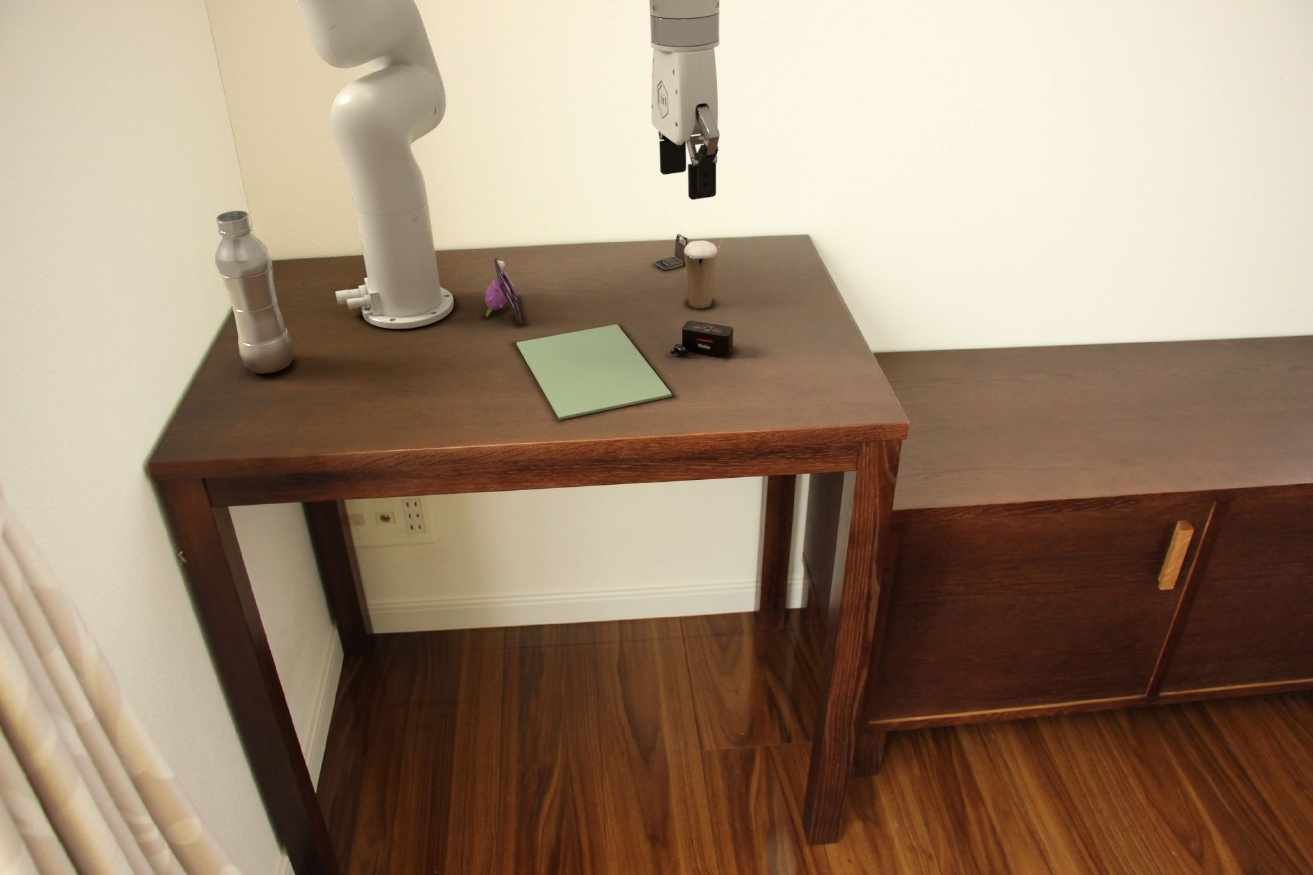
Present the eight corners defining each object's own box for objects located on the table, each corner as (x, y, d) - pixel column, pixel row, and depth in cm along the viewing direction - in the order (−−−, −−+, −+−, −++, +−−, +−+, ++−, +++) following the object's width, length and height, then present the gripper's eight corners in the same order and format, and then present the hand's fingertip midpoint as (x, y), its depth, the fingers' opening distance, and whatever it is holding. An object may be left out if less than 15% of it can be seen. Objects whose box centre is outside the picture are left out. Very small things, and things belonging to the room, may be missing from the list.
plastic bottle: (248, 384, 122) (206, 230, 111) (240, 361, 127) (199, 212, 116) (302, 372, 124) (266, 220, 113) (292, 350, 129) (256, 202, 118)
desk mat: (559, 420, 114) (559, 417, 114) (516, 344, 130) (516, 342, 130) (671, 396, 118) (671, 393, 118) (617, 326, 134) (617, 323, 134)
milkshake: (719, 312, 137) (720, 244, 132) (681, 309, 138) (681, 242, 133) (723, 298, 141) (725, 232, 135) (686, 295, 142) (687, 229, 136)
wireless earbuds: (681, 341, 130) (681, 318, 128) (733, 349, 128) (734, 327, 126) (669, 357, 126) (669, 334, 125) (722, 366, 124) (723, 343, 123)
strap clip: (699, 252, 155) (699, 226, 153) (710, 258, 153) (710, 232, 151) (653, 264, 151) (653, 238, 149) (664, 271, 149) (664, 244, 147)
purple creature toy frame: (506, 281, 130) (501, 255, 138) (470, 296, 131) (467, 270, 138) (527, 322, 134) (521, 295, 142) (492, 337, 134) (488, 309, 142)
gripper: (628, 21, 113) (634, 168, 123) (679, 49, 99) (682, 213, 109) (689, 15, 115) (691, 160, 125) (748, 42, 101) (745, 203, 111)
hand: (687, 184), depth 117 cm, fingers open, 9 cm apart
